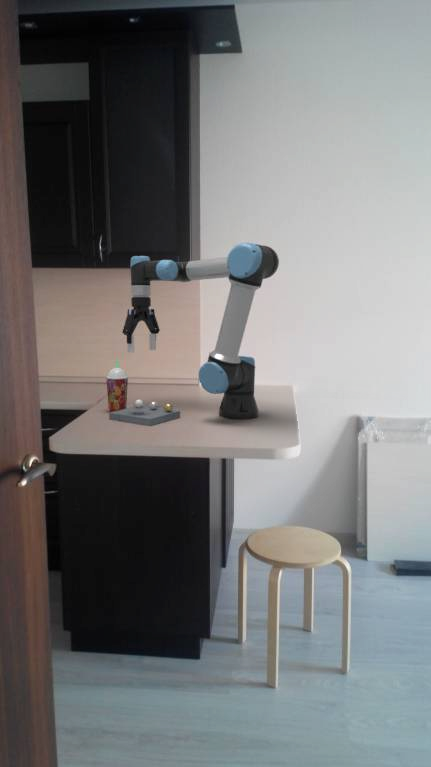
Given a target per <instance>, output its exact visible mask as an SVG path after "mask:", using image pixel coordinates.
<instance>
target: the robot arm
mask: <svg viewBox="0 0 431 767" xmlns="http://www.w3.org/2000/svg"><path fill="white" fill-rule="evenodd" d="M150 258H151V257H149V256H146V255H139V256H138V255H134V256H132V257H131V258H130V268H129V269H130V288H131V290H130V292H131V294H130V295H131V296H132V297H131V299H130V300H131V303H130V304H131V307H133V308H131V309H130V308H128V309H127V314H126V317H125V318H126V319H125V321H124V326H123V329H122V331H121V332H122V334H123V335H124V336H126V344H127V353H135V335H133V334H134V332H135V330H136V328H137V326H138V324H139V323H140V322H142V321H143V322H144V324H145V325H146V327H147V329H148V331H149V336H148V339H149V344H148V347H149V351H157V335H158V334H159V333H160V332H161V329H160V326H159V323H158V320H157V317H156V313H155V309H154V308H149V307H151V306H152V304H151V303H152V300H151V297H150V296H152V295H151V294H152V293H151V292H152V291H151V282H154V281H156V282H157V281H158V282H160V281H161V282H162V281H163V282H181V283H189V282H191V281H201V280H213V279H224V278H226V279H227V278H228V281H229V282H230V289H229V293H228V297H227V300H226V304H225V308H224V313H223V316H222V320H221V324H220V329H219V332H218V335H217V341H216V344H215V347H214V349H213V350H212V351H210V352H209V354H208V358H207V362H205V363H203V364H202V365H201V366H200V368H199V370H198V381H199V384H200V385H201V387H202V388H203V390H205V391H206V392H207V393H209V394H213V395H218V394H220V395H221V394H223V397H222V399H221V403H220V406H219V408H218V416H220V417H222V418H226V419H237V420H238V419H240V420H243V419H244V420H245V419H253V418H257V417H259V409H258V405H257V401H256V397H255V378H256V377H255V376H256V374H255V373H256V365H255V364H256V362H255V361H256V360H255V358H254V357H252V356H244V355H239V353H240V349H241V345H242V342H243V338H244V335H245V331H246V326H247V324H248V320H249V316H250V312H251V307H252V304H253V301H254V297H255V294H256V291H257V290H259V289H261V288H262V284H263V280H264V279H269V278H271V277H272V276H274V275H275V273H276V272H277V270H278V268H279V266H280V262H279V261H280V259H279V256H278V254H277V252H276V251H275V250H274V249H273V248H272V247H270V246H267V245H262V244H257V243H253V242H242V243H239V244H236V245H235V246H234V247H233V248H232V249H231V250H230V251H229V253H228V255H227V257H216V258H215V257H214V258H207V259H199V260H191V261H174V260H172V259H162V260H151V259H150Z"/></svg>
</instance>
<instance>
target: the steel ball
mask: <svg viewBox="0 0 431 767" xmlns="http://www.w3.org/2000/svg"><path fill="white" fill-rule="evenodd" d="M148 407H150V409H152V410H155V409H157V408H159V407H158V402H156V401H155V400H154V401H153V400H152V401H151V402H150V403H149V405H148Z"/></svg>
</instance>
